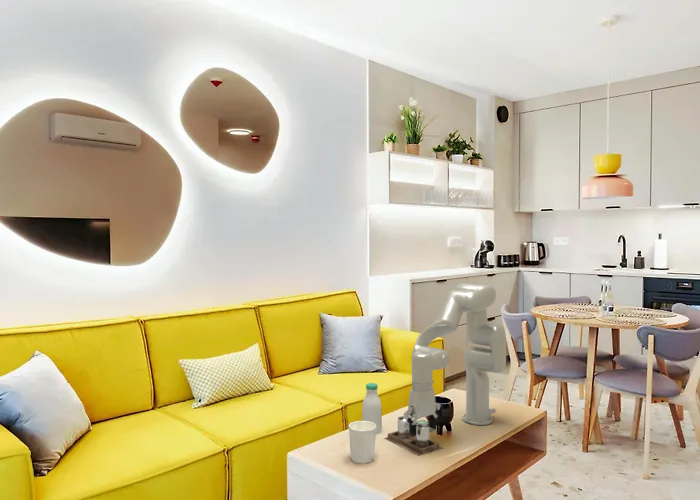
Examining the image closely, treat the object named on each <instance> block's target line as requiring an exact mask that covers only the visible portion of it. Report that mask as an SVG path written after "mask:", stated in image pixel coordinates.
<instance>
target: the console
mask: <svg viewBox="0 0 700 500" xmlns="http://www.w3.org/2000/svg"><path fill="white" fill-rule="evenodd" d="M418 421H426V422H427V424H428V425H429V423H428V422H429V420H428V421H427V420H425V419H418V420H417V421H416V423H415V424H418ZM437 427H438V426H436V429H433V428H431V427H429V433H430V432H432V431H433V432H434V431H436V430H437Z"/></svg>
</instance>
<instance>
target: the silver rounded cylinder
mask: <svg viewBox="0 0 700 500" xmlns="http://www.w3.org/2000/svg"><path fill="white" fill-rule="evenodd" d="M429 440H430V432H429V425H428V424H424V423H419V424H416V445H415V446H417V447H419V448H424V447H428V446H429Z"/></svg>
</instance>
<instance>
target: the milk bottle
mask: <svg viewBox="0 0 700 500" xmlns="http://www.w3.org/2000/svg"><path fill="white" fill-rule="evenodd" d="M365 390H366V393H365V396H364V398H363V401H362V412H361V415H362V417H361V421H369V422H373V423H374V424H376V435H378V434H381V433H382V426H383V425H382V403H381V399H380V397H379V394H378V384H377V383H374V382H369V383H366V385H365Z"/></svg>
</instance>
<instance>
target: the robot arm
mask: <svg viewBox="0 0 700 500" xmlns="http://www.w3.org/2000/svg"><path fill="white" fill-rule="evenodd" d="M496 297H497V293H496V290H495V288H494V287H493V286H492V285H489V284H480V283H479V284H478V283H466V282H465V283H458V284H456V285H455V287H454V289H452V290H449V291H448V292H447V294H446V295H445V297H444V300H443V302H442V305H441V308H440V310H439V313H438V314H437V318H436V320H435V321H434V322H433V323H431V324H429V326H428V325H427V327H426V328H425V329H423V330H422V331H421V333H420V334H419V335H418V337H417V338H416V341H415V343H414V346H413V349H412V352H411V353H412V354H411V389H410V390H409V396H408V408H407V410H406V411H405V412H404V413H403V416H404V417H405V419H406V421H407V422H408V423H409V432H410V434H412V435H414V436H415V435H416V424H415V423H416V421H418V420H420V419H421V418H422V419H423V418H425V417H426V418H427V417H428V422H429V427H431V428H433V429H436V425H437V418H438V416H439V415H438V414H439V413H440V409H441V404H440V403H439V402H436V395H435V390H434V389H435V388H434V387H433V384H434V383H435V382H434V380H433V371H437V370H442V369H444V368H446V367H447V366H448V365H449V363H450V354H449V352H447V351H446V350H445V349H443V348H437V347H434V346H433V347H432V346H429V345H430V344H431V343H432V342H433V341H434V340H436V339H437V338H440V337H443V336H445V335H449V334H452V333H454V332H456V331H457V329H458V327H459V323H460V321H461V319H462V316H463V313H466V335H467V336H466V337H467V340H468V342H470V343H472V344H475V345H477V346H475V345H474V346H472V345H471V346H470V347H468V348H466V349H465V351H464V354H463V361H464V362H463V363H464V366H465V373H466V375H465V377H466V378H465V381H466V382H465V383H466V384H465V385H466V397H465V398H466V399H465V401H466V402H465V405H466V407H465V409H466V410H465V414H462V421H463V422H465V423H466V424H469V425H474V426H486V425H490V424H492V423H493V422H494V418H493V417H492V416H491V415H492V414H495V413H497V409H496V408H490V378H489V374H488V373H487V372H489V373H496V374H501V373H502V372H504V370H505V368H506V367H507V366H506V364H507V341H506V340H507V339H506V335H507V334H506V332H505V328H504V327H503V326H502V325H501V324H498V323H492V322H488V311H487V308H489V307H491V306H492V305H493V304H494V303H495V300H496ZM478 345H479V346H478ZM482 346H483V347H482ZM484 346H487V347H484ZM488 347H489V348H488Z"/></svg>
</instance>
